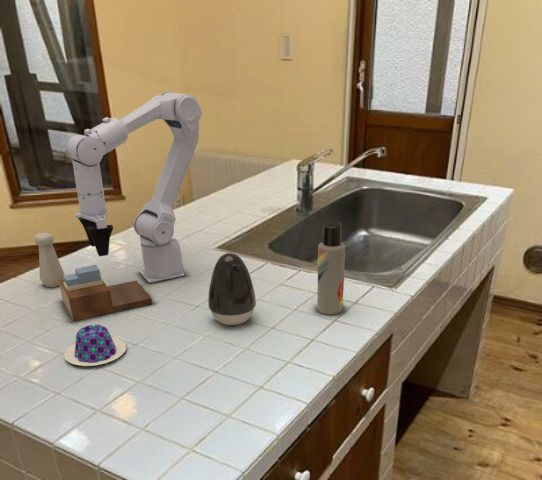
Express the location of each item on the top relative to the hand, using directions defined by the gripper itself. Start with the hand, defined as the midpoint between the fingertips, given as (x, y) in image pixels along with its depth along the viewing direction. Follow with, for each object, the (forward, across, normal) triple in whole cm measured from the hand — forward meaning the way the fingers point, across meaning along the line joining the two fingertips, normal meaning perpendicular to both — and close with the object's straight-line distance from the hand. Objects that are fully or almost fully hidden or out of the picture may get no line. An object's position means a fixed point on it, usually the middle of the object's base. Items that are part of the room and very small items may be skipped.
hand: (99, 250), depth 142 cm
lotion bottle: (+10, +36, +42) cm, 56 cm away
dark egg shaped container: (+10, +30, +21) cm, 38 cm away
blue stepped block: (+5, +7, -6) cm, 10 cm away
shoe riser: (+10, +7, -1) cm, 13 cm away
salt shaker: (+11, -11, -10) cm, 19 cm away
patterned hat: (+11, +30, -9) cm, 33 cm away
